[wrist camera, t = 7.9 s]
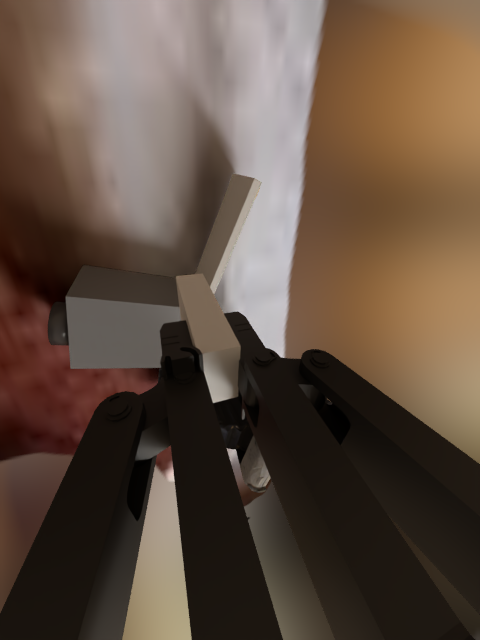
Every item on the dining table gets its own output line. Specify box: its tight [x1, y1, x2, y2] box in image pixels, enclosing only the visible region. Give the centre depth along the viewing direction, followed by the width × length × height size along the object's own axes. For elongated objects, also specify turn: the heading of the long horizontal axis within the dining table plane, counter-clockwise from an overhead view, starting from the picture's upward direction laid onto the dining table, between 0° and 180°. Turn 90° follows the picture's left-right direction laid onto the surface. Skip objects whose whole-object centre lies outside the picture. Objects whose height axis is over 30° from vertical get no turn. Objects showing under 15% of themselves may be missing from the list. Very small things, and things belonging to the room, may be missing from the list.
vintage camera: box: [158, 369, 271, 492], centre depth 36 cm, size 10×16×20 cm, turn 76°
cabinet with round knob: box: [48, 265, 181, 369], centre depth 29 cm, size 16×9×9 cm, turn 72°
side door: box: [195, 174, 262, 294], centre depth 28 cm, size 14×2×7 cm, turn 154°
